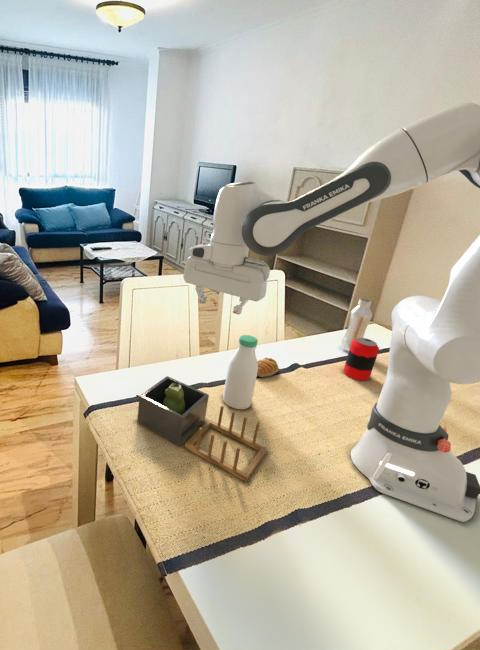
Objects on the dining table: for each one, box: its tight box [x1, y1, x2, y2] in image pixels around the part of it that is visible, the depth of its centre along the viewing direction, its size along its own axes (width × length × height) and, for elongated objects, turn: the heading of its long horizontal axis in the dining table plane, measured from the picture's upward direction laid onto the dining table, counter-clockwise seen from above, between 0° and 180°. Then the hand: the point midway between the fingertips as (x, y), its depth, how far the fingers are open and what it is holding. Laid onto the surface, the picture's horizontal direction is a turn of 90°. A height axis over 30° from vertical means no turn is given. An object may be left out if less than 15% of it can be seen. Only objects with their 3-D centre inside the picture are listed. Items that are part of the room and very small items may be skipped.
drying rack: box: [184, 405, 268, 482], centre depth 89 cm, size 15×12×7 cm
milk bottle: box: [222, 334, 258, 410], centre depth 105 cm, size 8×8×20 cm
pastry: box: [257, 357, 280, 378], centre depth 123 cm, size 9×7×4 cm
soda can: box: [342, 337, 380, 381], centre depth 123 cm, size 8×8×12 cm
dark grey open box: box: [136, 375, 210, 447], centre depth 97 cm, size 13×13×8 cm
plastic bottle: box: [340, 297, 373, 352], centre depth 138 cm, size 6×7×20 cm
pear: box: [163, 383, 185, 415], centre depth 97 cm, size 6×5×10 cm
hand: (218, 307), depth 95 cm, fingers open, 8 cm apart
